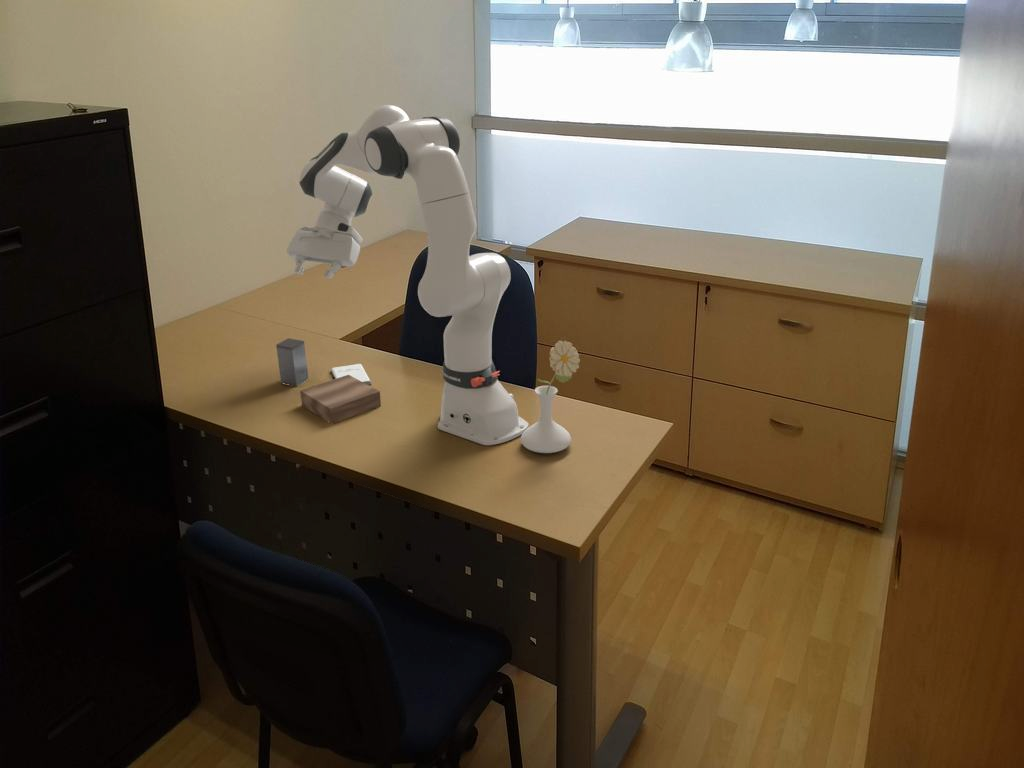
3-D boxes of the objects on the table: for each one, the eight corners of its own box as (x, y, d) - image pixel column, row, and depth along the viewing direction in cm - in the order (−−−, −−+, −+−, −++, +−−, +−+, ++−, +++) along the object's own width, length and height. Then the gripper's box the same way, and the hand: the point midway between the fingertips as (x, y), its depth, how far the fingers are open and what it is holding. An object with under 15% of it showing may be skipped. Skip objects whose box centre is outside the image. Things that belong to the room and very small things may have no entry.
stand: (380, 405, 213) (379, 391, 211) (332, 423, 204) (330, 408, 203) (349, 388, 222) (348, 374, 221) (301, 405, 214) (300, 390, 212)
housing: (308, 379, 228) (303, 340, 223) (296, 386, 224) (291, 347, 219) (293, 376, 230) (288, 338, 225) (281, 383, 226) (276, 344, 221)
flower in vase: (529, 461, 187) (529, 355, 177) (514, 437, 197) (513, 336, 187) (585, 452, 191) (588, 348, 180) (567, 429, 200) (569, 329, 190)
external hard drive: (339, 391, 222) (331, 372, 233) (371, 386, 225) (361, 368, 236) (339, 385, 222) (331, 367, 232) (370, 380, 224) (361, 362, 235)
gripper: (293, 220, 232) (274, 265, 228) (357, 227, 224) (339, 274, 220) (305, 232, 237) (287, 276, 233) (368, 240, 229) (350, 285, 225)
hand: (312, 275), depth 226 cm, fingers open, 8 cm apart
